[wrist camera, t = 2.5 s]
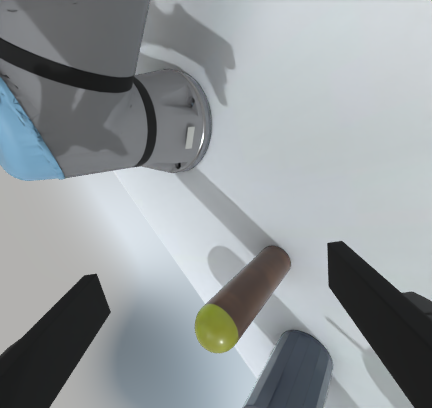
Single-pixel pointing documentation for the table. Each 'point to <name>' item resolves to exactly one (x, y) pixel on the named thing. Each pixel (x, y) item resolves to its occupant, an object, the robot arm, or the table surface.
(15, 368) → the robot arm
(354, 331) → the table surface
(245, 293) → the peg
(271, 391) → the tube
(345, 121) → the table surface
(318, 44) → the table surface
